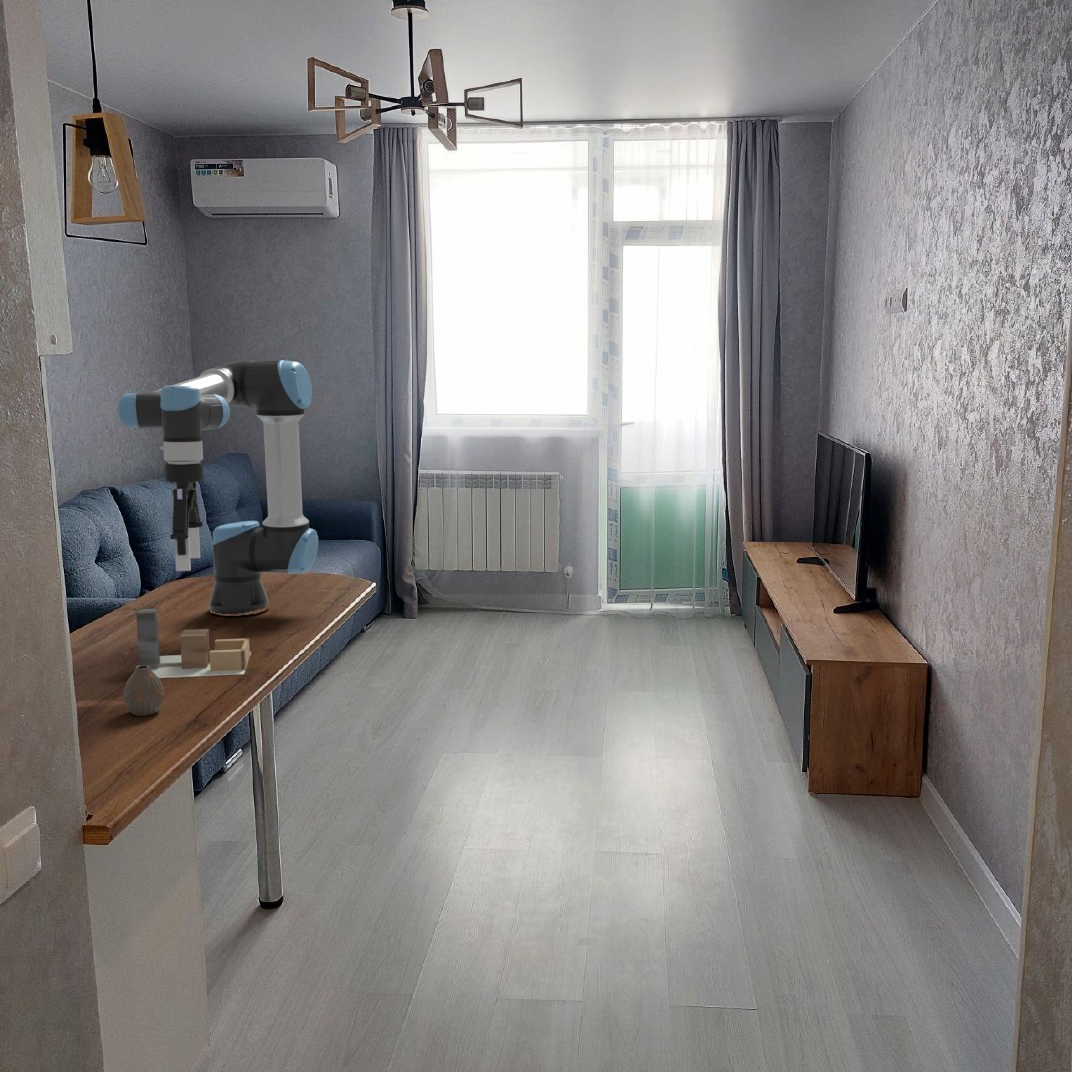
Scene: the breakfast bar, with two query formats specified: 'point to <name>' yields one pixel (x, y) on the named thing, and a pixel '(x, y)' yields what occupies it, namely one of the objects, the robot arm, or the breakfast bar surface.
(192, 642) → the tether block
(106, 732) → the breakfast bar surface
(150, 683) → the vase
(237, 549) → the robot arm
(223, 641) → the white board with bracket
